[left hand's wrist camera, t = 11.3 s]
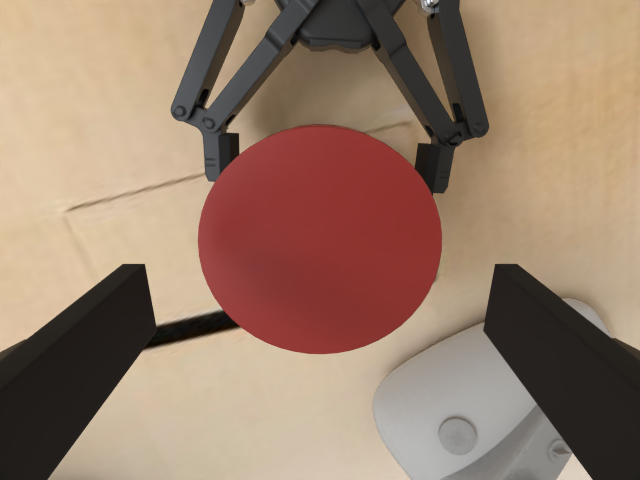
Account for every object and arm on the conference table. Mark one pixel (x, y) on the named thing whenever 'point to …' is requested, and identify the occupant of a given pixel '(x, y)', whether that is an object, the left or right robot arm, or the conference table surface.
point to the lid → (320, 239)
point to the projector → (468, 414)
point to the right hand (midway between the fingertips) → (324, 231)
